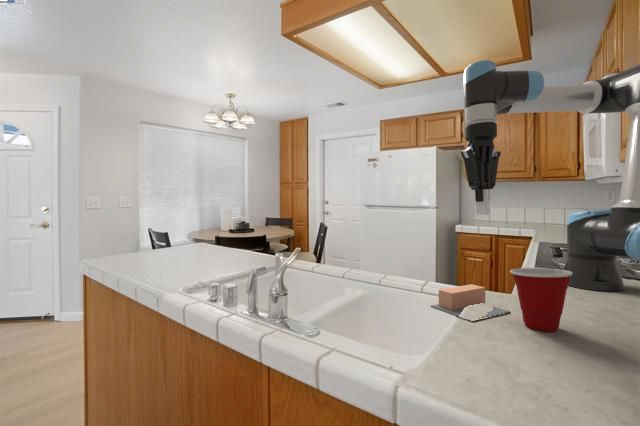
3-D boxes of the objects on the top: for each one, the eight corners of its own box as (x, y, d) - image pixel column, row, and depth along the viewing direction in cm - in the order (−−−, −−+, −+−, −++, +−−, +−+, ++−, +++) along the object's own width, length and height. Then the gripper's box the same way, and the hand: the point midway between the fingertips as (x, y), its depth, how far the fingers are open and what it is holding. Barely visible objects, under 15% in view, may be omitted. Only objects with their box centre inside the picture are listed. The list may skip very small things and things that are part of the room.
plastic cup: (530, 315, 75) (530, 263, 75) (584, 331, 65) (584, 271, 65) (497, 322, 71) (498, 267, 70) (550, 341, 61) (551, 276, 60)
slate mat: (466, 300, 87) (466, 298, 87) (510, 313, 77) (510, 311, 77) (430, 307, 82) (430, 305, 82) (471, 322, 71) (472, 320, 71)
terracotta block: (471, 284, 87) (438, 289, 81) (485, 287, 83) (451, 293, 78) (471, 299, 87) (438, 305, 81) (485, 303, 83) (451, 310, 78)
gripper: (483, 129, 91) (486, 213, 92) (451, 125, 86) (453, 215, 86) (509, 122, 85) (512, 213, 85) (476, 118, 79) (479, 215, 79)
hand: (482, 214), depth 86 cm, fingers closed
